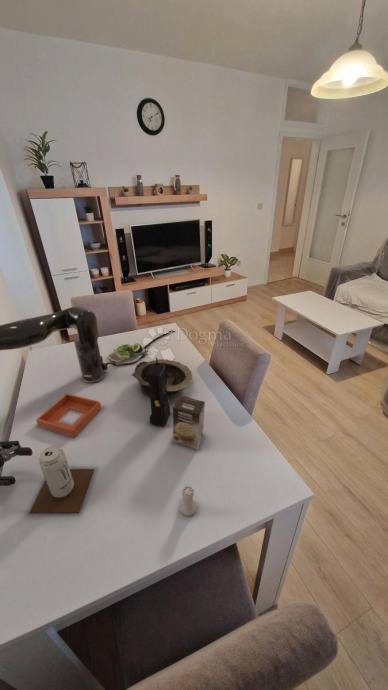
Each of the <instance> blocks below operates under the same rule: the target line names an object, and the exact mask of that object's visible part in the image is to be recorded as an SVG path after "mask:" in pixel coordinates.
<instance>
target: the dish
mask: <svg viewBox="0 0 388 690" xmlns="http://www.w3.org/2000/svg"><path fill="white" fill-rule="evenodd" d="M69 410H73V411H76V412H79V413H82V415H81V416H80V417H79V418H78V419H77V420H76V421H75V422H74V423H73V424H69V423H65V422H62V421H59V420H60V419H61V418H62V417H63V416H64V415H65V414H66V413H67V412H69ZM101 410H102V406H101V402H100V401H98V400H95V399H91V398H87V397H83V396H79V395H76V394H72V393H68V392H66V393H65V394H64V395H63V396H61V397H60V398H59V399H58V400H57V401H56V402H54V403H53V404H52V405H51V406H50V407H49V408H48V409H46V410H45V411H44V412H43V413H42V414H40V416H38V417H37V418H36V419H35V422H36V424H37V427H38V428H42V429H45V430H46V431H47V430H48V431H51V432H54V433H57V434H60V435H63V436H66V437H68V438H69V437H70V438H72V439H75V438H76V437H77V436H78V434H80V432H81V431H82V430H83V429H84V428H85V426H87V425H88V424H89V422H90V421H92V419H93V418H95V416H96V415H97V414H98V413H99V412H100V411H101Z"/></svg>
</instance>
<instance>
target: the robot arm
mask: <svg viewBox="0 0 388 690" xmlns="http://www.w3.org/2000/svg"><path fill="white" fill-rule="evenodd" d="M97 319H98V318H97V316H96V314H95V313H94V312H93V311H92V310H90V309H87V308H84V307H82V306H72V307H68V308H65V309H62V310H60V311H57V312H53V313H48V314H43V315H38V316H35V317H29V318H24V319H20V320H15V321H11V322H8V323H3V324H0V351H11V350H18V349H23V348H28V347H31V346H34V345H37V344H40V343H42V342H44V341H46V340H47V339H48V338H49V337H50V336H52V335H53V334H54V333H56V332H59V331H63V330H67V329H74V330H76V331H77V336H76V337H75V338H74V340H73V343H74V347H75V352H76V357H77V360H78V365H79V369H80V374H81V380H82V381H83V382H84V383H86V384H93V383H98V382H100V381H102V380H103V379H104V377H105V374H106V371H107V370H108V369H109V367H108V366H109V365H111V366H117V365H116V362H104V359H103V356H102V354H101V352H100V347H99V340H98V339H99V326H98V320H97ZM173 330H174V329H171V330H169V331H168V332H169V333H167V332H165V333H166V334H165V333H163V334H161V335H158V336H157V337H155V338H154V339H152V340H151V341H149V343H147V344H146V345H144V346H143V348H144V349H145V350H146V348H147V347H148V346H150V345H151V344H152V343H153V342H155V341H157V340H158V339H160V338H162V337H164V336H167V335H168V334H170V333H176V331H175V330H174V331H173ZM171 331H172V332H171ZM131 357H132V356H131ZM3 455H4V456H5V457H4V456H3ZM17 456H18V457H22V456H23V457H31V456H33V449H32V448H31V447H29V446H21V444H20V441H19V440H9V441H8V440H7V441H6V440H5V441H0V469H1V468H2V467H3V466H4V465H5V463H8V462H9V461H10V460H12V458H15V457H17ZM16 482H17V479H16V477H15V476H14V475H0V487H6V486H7V487H10V486H12V485H15V484H16Z"/></svg>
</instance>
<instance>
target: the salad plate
mask: <svg viewBox="0 0 388 690" xmlns="http://www.w3.org/2000/svg"><path fill="white" fill-rule="evenodd" d="M148 352H149V350H146V348H145V349H144V346H142V345H141V344H140V343H139V342H138V343H137V342H136V343H134V344H130V343H124V344H119V345H117V346H116V348H114V349H113V350H112V351H110V352H109V353H108V354H107V357H108V360H110V361H112V363H116V365H115V366H119V365H126V364H133V363H135V362H137V361H138V360H140V359H141V358H142V357H143V356H145V355H146V354H147V353H148ZM131 356H132V357H131Z"/></svg>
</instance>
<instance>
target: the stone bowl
mask: <svg viewBox="0 0 388 690" xmlns="http://www.w3.org/2000/svg"><path fill="white" fill-rule="evenodd" d="M157 362H158V364H163V365H165V367H166V376H167V386H166V387H167V393H168V399H170V398H172V397H174V396H176V395H177V394H178V393H179V392H180V391H181V390H182V389H183V388H185V387H187V386H188V385H190V384H191V382H192V381H193V380H194V378H193V374H192V371H191V369H190V368H189V367H188V366H187V365H184V364H183V363H181V362H180V361H176V360H169V359H163V358H161V359H159V358H158V359H157ZM151 364H156V359H154V360H149V361H145V360H143V361H140V362H139V363H138V364H136V366H135V368H134V372H133V373H131V377H133V378H134V379H136V380H137V381H138V383H139V384H140V389H141V392H142V393H143V395H146V396H150V390H149V382H148V381H146V372H147V371H148V369H149V368H150V366H151Z"/></svg>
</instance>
